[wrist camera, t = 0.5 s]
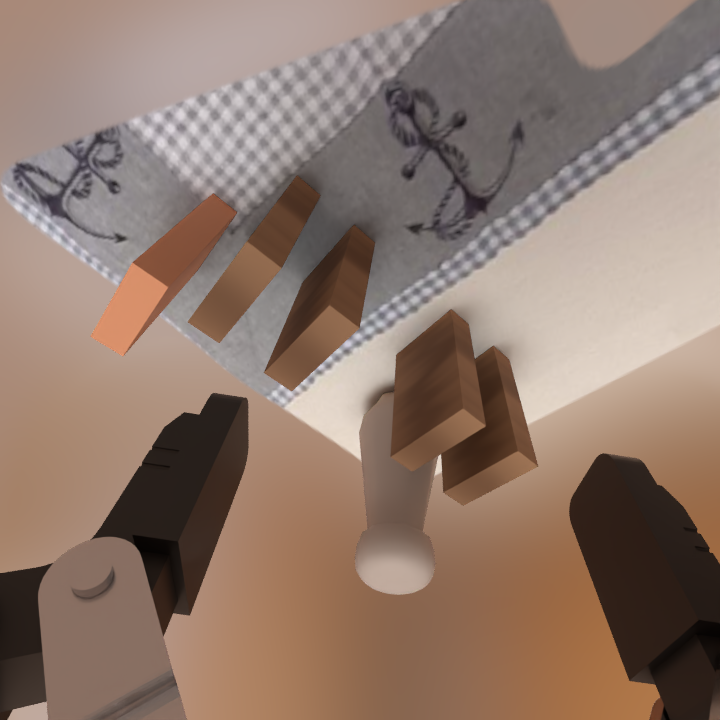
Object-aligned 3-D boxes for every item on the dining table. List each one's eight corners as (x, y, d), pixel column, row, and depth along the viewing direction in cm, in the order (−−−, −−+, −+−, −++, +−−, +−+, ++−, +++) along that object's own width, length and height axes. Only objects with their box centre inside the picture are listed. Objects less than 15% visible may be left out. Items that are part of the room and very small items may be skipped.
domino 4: (451, 309, 28) (463, 408, 21) (468, 324, 29) (485, 425, 21) (396, 355, 31) (390, 457, 23) (413, 368, 31) (412, 471, 24)
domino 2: (297, 175, 24) (246, 241, 17) (320, 195, 25) (281, 268, 17) (248, 240, 27) (187, 322, 19) (271, 257, 27) (219, 342, 20)
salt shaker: (455, 417, 34) (472, 593, 23) (395, 447, 36) (386, 617, 26) (408, 367, 31) (403, 540, 21) (347, 403, 34) (316, 572, 23)
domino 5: (493, 345, 29) (518, 450, 22) (509, 359, 30) (538, 466, 23) (437, 386, 32) (443, 492, 25) (452, 398, 32) (463, 505, 25)
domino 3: (353, 224, 25) (329, 305, 18) (375, 243, 26) (359, 328, 19) (302, 282, 28) (264, 372, 21) (322, 297, 28) (291, 391, 21)
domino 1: (213, 193, 25) (132, 262, 18) (237, 212, 26) (168, 287, 18) (174, 254, 28) (90, 336, 21) (197, 270, 28) (122, 356, 21)
